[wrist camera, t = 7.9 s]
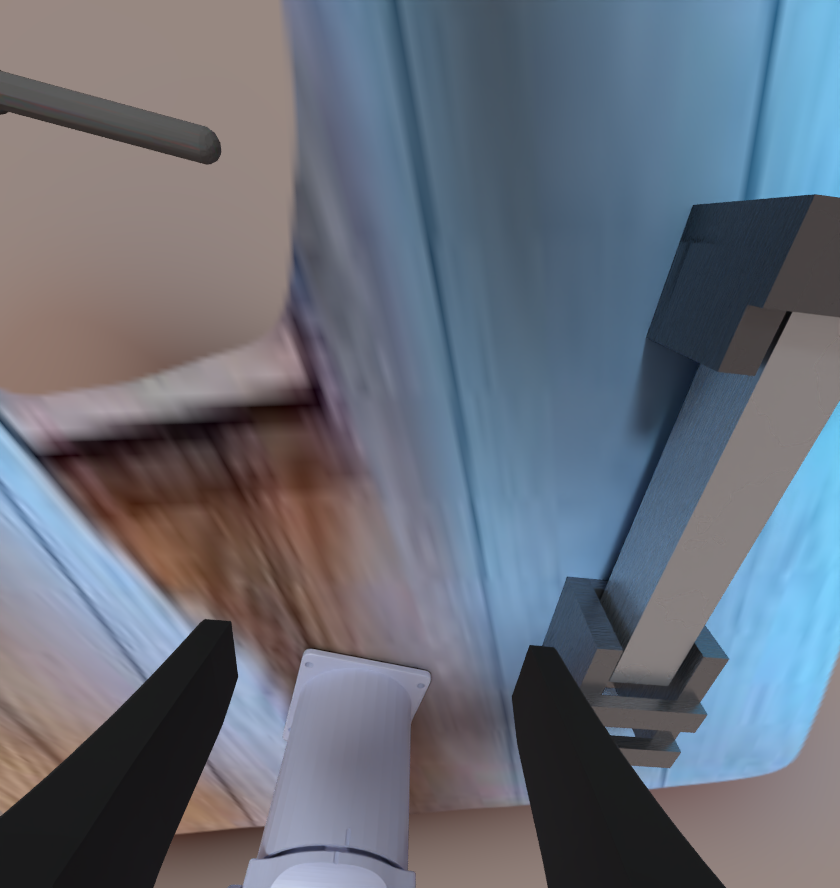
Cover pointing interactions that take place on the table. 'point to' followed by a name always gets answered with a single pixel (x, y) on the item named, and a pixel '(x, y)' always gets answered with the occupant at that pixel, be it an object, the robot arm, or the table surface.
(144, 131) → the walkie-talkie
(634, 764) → the sleeve
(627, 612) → the rod
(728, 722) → the table surface
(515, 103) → the table surface
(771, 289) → the socket
